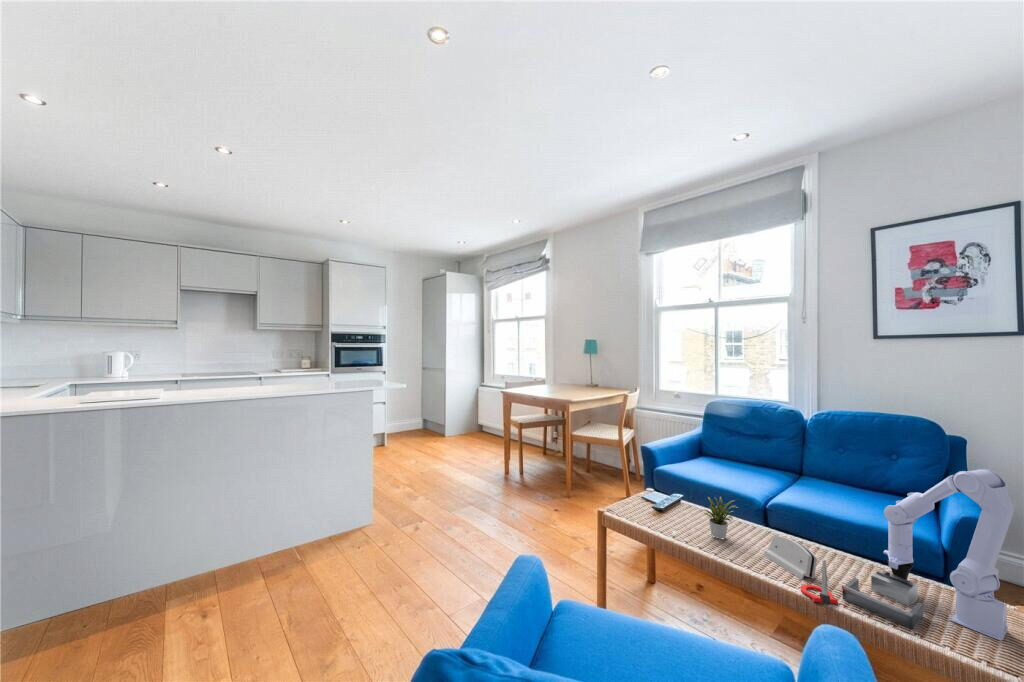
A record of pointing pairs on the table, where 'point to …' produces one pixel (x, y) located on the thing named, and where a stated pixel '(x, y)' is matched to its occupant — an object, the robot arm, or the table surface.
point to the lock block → (894, 587)
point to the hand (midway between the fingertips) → (900, 583)
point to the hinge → (792, 557)
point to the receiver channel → (881, 605)
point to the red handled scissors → (820, 589)
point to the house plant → (719, 518)
